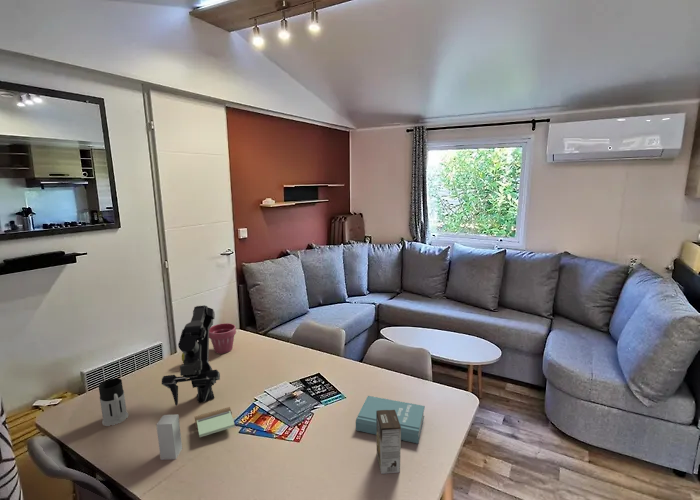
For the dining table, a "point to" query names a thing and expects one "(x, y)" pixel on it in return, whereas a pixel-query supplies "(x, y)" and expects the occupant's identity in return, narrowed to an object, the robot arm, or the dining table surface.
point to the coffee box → (388, 441)
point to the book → (406, 413)
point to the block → (169, 437)
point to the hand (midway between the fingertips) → (190, 403)
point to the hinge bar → (211, 414)
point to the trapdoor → (215, 423)
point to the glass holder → (112, 402)
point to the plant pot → (222, 337)
